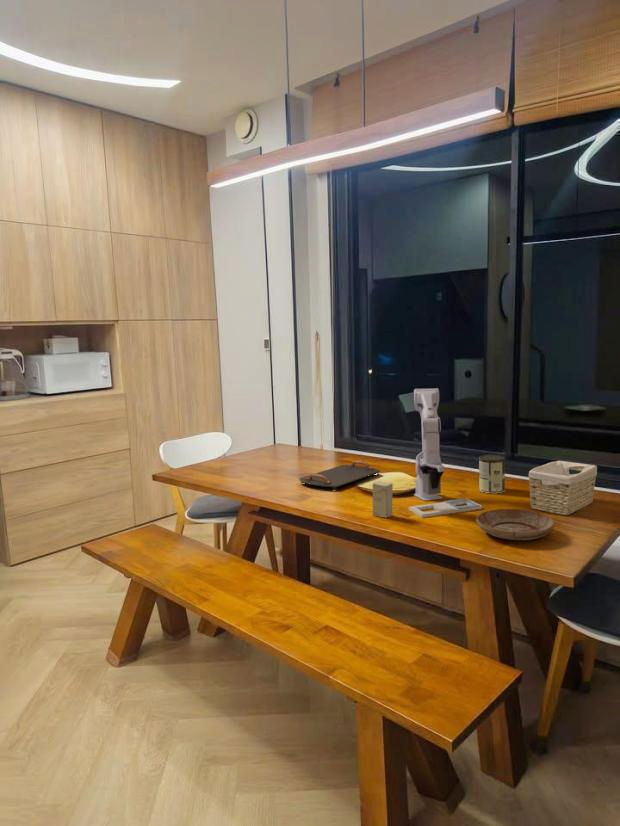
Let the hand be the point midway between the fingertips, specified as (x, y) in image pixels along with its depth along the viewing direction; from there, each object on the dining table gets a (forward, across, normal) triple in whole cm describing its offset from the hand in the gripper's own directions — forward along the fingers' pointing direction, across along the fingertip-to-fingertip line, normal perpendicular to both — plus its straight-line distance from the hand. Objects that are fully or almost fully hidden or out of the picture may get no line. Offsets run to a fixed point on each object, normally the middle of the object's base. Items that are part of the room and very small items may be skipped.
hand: (431, 486), depth 207 cm
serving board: (+10, -58, -15) cm, 61 cm away
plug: (+2, 0, 0) cm, 2 cm away
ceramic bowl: (+10, +31, +13) cm, 35 cm away
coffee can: (+10, -14, +35) cm, 39 cm away
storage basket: (+10, +14, +46) cm, 49 cm away
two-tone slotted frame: (+9, 0, +6) cm, 11 cm away
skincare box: (+10, -3, -19) cm, 21 cm away
